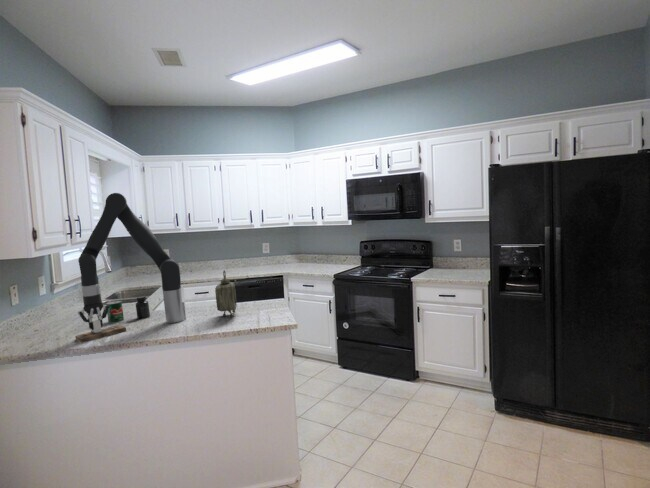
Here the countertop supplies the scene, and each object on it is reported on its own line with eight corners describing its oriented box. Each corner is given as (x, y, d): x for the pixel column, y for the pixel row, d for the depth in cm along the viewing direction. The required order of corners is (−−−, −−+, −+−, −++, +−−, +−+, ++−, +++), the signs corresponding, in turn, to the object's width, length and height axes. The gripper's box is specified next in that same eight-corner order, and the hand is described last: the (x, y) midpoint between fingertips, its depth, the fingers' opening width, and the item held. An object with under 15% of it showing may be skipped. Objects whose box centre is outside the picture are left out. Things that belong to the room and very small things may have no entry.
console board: (119, 328, 202) (119, 324, 201) (126, 330, 196) (125, 326, 195) (75, 339, 187) (75, 335, 187) (81, 343, 181) (81, 338, 181)
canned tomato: (117, 323, 213) (114, 303, 212) (105, 323, 215) (102, 304, 214) (127, 319, 221) (124, 300, 220) (115, 319, 222) (112, 300, 221)
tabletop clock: (235, 318, 203) (230, 271, 201) (218, 320, 202) (213, 273, 200) (237, 311, 217) (233, 267, 215) (221, 313, 216) (216, 269, 214)
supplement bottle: (152, 315, 225) (149, 295, 224) (147, 318, 218) (144, 297, 217) (140, 316, 225) (137, 296, 223) (135, 319, 218) (132, 298, 217)
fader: (97, 329, 193) (96, 318, 193) (102, 332, 188) (101, 320, 188) (91, 331, 191) (89, 320, 190) (95, 333, 186) (94, 322, 186)
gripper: (104, 290, 196) (108, 323, 197) (72, 296, 185) (77, 331, 187) (109, 291, 191) (114, 325, 192) (77, 297, 180) (82, 333, 182)
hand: (96, 328), depth 189 cm, fingers closed on fader, 3 cm apart
